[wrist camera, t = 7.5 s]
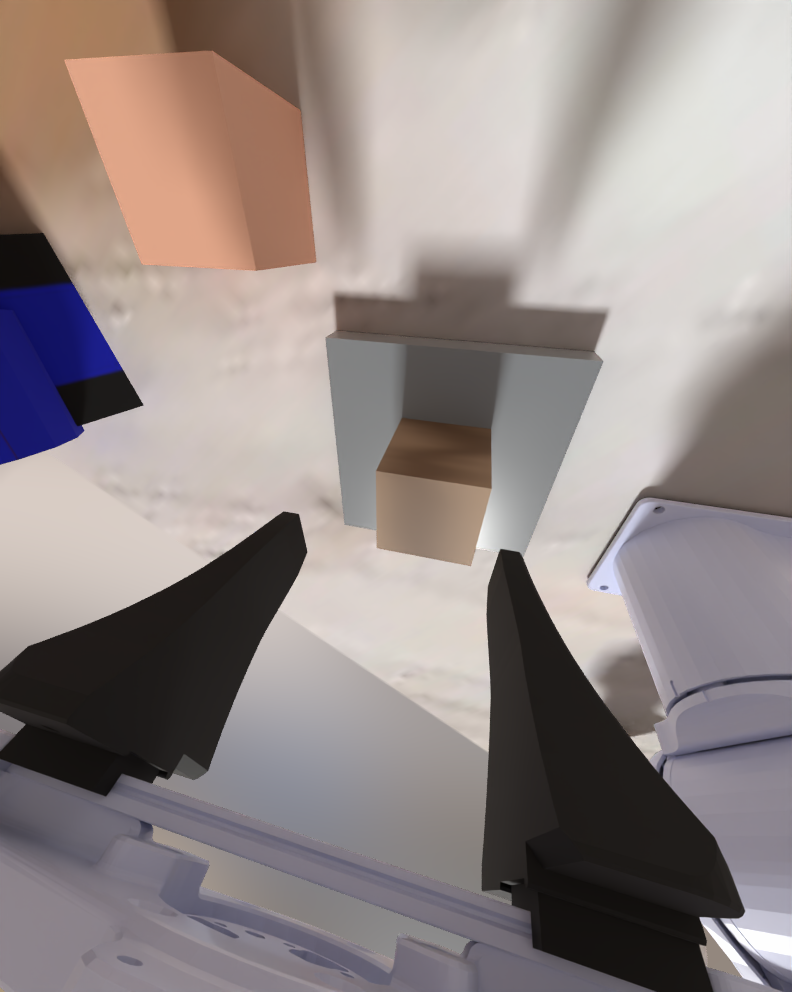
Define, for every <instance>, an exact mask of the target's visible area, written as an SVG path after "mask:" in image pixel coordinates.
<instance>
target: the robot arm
mask: <svg viewBox="0 0 792 992" xmlns="http://www.w3.org/2000/svg"><path fill="white" fill-rule="evenodd" d="M656 507H660V508H659V509H655V508H656ZM306 554H307V548H306V543H305V539H304V535H303V530H302V526H301V521H300V517H299V514H295V513H289V512H282V513H281V514H279V515H278V516H277V517H275V518H274V519H272V520H271V521H270V522H268V523H267V524H265V525H264V526H263V527H261V528H260V529H259V530H257V531H256V532H255V533H253V534H252V535H250V536H249V537H248V538H246V539H245V540H243V541H242V542H240V543H239V544H238V545H236V546H235V547H233V548H232V549H230V550H229V551H227V552H226V553H224V554H223V555H221V556H220V557H218V558H217V559H215V560H214V561H212V562H210V563H209V564H207V565H206V566H205V567H203V568H201V569H199V570H198V571H196V572H194V573H193V574H191V575H189V576H188V577H186V578H184V579H182V580H180V581H179V582H177V583H175V584H173V585H171V586H170V587H168V588H166V589H164V590H162V591H160V592H158V593H156V594H154V595H152V596H150V597H148V598H145V599H144V600H141V601H140V602H137V603H135V604H133V605H131V606H129V607H127V608H125V609H123V610H120V611H118V612H116V613H113V614H111V615H109V616H106V617H104V618H102V619H99V620H97V621H95V622H92V623H90V624H87V625H84V626H82V627H79V628H77V629H74V630H72V631H69V632H66V633H63V634H61V635H58V636H55V637H53V638H50V639H47V640H45V641H42V642H39V643H36V644H33V645H31V646H28V647H27V648H26V649H25V650H24V651H23V652H21V653H20V654H19V655H18V656H17V657H16V658H15V659H14V660H13V661H11V662H10V663H9V664H8V665H7V666H6V667H5V668H3V669H2V670H1V671H0V712H3V713H5V714H6V715H9V716H11V717H13V718H15V719H17V720H19V721H21V722H23V723H25V724H26V725H25V726H24V727H23V728H22V729H21V730H20V731H19V732H18V733H17V734H16V735H15V734H13V733H10V732H8V731H5V730H2V729H0V987H1V988H2V989H3V990H4V991H5V992H792V518H789V517H782V516H775V515H768V514H761V513H754V512H747V511H740V510H733V509H726V508H719V507H712V506H705V505H698V504H691V503H684V502H678V501H671V500H664V499H657V498H644V499H641V500H640V501H638V502H637V504H636V505H635V507H634V508H633V510H632V511H631V513H630V514H629V516H628V518H627V519H626V521H625V522H624V524H623V525H622V527H621V529H620V530H619V532H618V533H617V535H616V536H615V538H614V539H613V541H612V543H611V544H610V546H609V547H608V549H607V550H606V552H605V554H604V555H603V557H602V558H601V560H600V561H599V563H598V564H597V566H596V568H595V569H594V571H593V572H592V574H591V575H590V577H589V579H588V580H587V586H588V588H589V589H591V590H594V591H600V592H605V593H610V594H616V595H621V596H622V597H623V600H624V602H625V605H626V608H627V610H628V613H629V616H630V618H631V621H632V624H633V627H634V629H635V632H636V635H637V637H638V640H639V643H640V645H641V648H642V651H643V654H644V656H645V659H646V662H647V664H648V667H649V670H650V672H651V675H652V678H653V680H654V683H655V686H656V689H657V691H658V694H659V697H660V699H661V702H662V705H663V707H664V710H665V713H666V715H667V718H666V719H665V720H663V721H661V722H658V723H655V724H654V727H655V730H656V733H657V736H658V739H659V742H660V745H661V748H662V750H661V751H659V752H657V753H655V754H654V755H653V757H652V758H651V759H650V761H648V759H647V758H646V757H645V756H644V754H643V753H642V752H641V751H640V750H639V748H638V747H637V746H636V744H635V743H634V742H633V741H632V739H631V738H630V737H629V735H628V734H627V733H626V731H625V730H624V729H623V727H622V726H621V725H620V723H619V722H618V721H617V720H616V718H615V717H614V716H613V714H612V713H611V712H610V710H609V709H608V708H607V706H606V705H605V704H604V702H603V701H602V699H601V698H600V697H599V695H598V694H597V692H596V691H595V689H594V688H593V687H592V685H591V684H590V682H589V681H588V679H587V678H586V676H585V675H584V673H583V672H582V670H581V669H580V667H579V666H578V664H577V663H576V661H575V659H574V658H573V656H572V655H571V653H570V651H569V650H568V648H567V646H566V645H565V643H564V641H563V639H562V638H561V636H560V634H559V632H558V631H557V629H556V627H555V625H554V623H553V622H552V620H551V618H550V616H549V614H548V612H547V610H546V608H545V606H544V604H543V602H542V600H541V598H540V596H539V594H538V592H537V590H536V588H535V585H534V583H533V581H532V579H531V577H530V574H529V572H528V569H527V567H526V565H525V562H524V559H523V557H522V555H521V553H520V552H517V551H511V550H505V549H500V551H499V554H498V557H497V560H496V563H495V566H494V570H493V573H492V576H491V579H490V582H489V585H488V596H487V633H488V650H489V666H490V684H491V706H490V736H489V760H488V779H487V798H486V815H485V829H484V844H483V858H482V891H483V892H486V893H489V894H492V895H495V896H498V897H501V898H504V899H507V900H510V901H512V905H509V904H506V903H503V902H500V901H497V900H494V899H491V898H488V897H485V896H482V895H479V894H476V893H473V892H470V891H467V890H464V889H462V888H459V887H456V886H453V885H450V884H447V883H444V882H441V881H438V880H435V879H432V878H429V877H426V876H423V875H420V874H417V873H414V872H411V871H408V870H405V869H402V868H399V867H396V866H393V865H390V864H388V863H384V862H382V861H379V860H376V859H373V858H370V857H366V856H364V855H361V854H358V853H355V852H352V851H349V850H346V849H343V848H340V847H337V846H334V845H331V844H328V843H325V842H323V841H320V840H316V839H314V838H311V837H308V836H304V835H302V834H299V833H295V832H293V831H290V830H287V829H284V828H281V827H278V826H275V825H272V824H269V823H266V822H263V821H260V820H257V819H255V818H251V817H249V816H245V815H243V814H240V813H237V812H234V811H231V810H228V809H225V808H222V807H219V806H216V805H213V804H210V803H207V802H204V801H201V800H198V799H195V798H192V797H189V796H186V795H184V794H181V793H178V792H175V791H172V790H169V789H166V788H162V787H160V786H157V785H154V784H152V783H153V781H154V779H155V778H156V776H158V777H161V778H165V779H167V780H168V779H169V778H170V777H171V775H172V774H173V773H174V774H177V775H180V776H183V777H186V778H189V779H192V780H195V779H198V778H199V777H201V776H202V775H204V774H205V773H206V772H207V771H208V769H209V767H210V764H211V761H212V758H213V755H214V752H215V750H216V747H217V744H218V741H219V739H220V736H221V733H222V730H223V728H224V725H225V722H226V720H227V717H228V715H229V712H230V710H231V707H232V705H233V702H234V700H235V697H236V695H237V692H238V690H239V688H240V685H241V683H242V681H243V679H244V676H245V674H246V672H247V669H248V667H249V665H250V663H251V660H252V658H253V656H254V653H255V652H256V649H257V647H258V645H259V643H260V641H261V639H262V637H263V635H264V633H265V631H266V630H267V628H268V626H269V624H270V622H271V621H272V619H273V617H274V615H275V614H276V612H277V611H278V609H279V607H280V605H281V604H282V602H283V600H284V599H285V597H286V595H287V593H288V592H289V590H290V588H291V586H292V585H293V583H294V581H295V579H296V578H297V576H298V573H299V571H300V569H301V566H302V564H303V562H304V559H305V557H306ZM151 824H152V825H155V826H157V827H160V828H163V829H166V830H168V831H171V832H174V833H177V834H179V835H182V836H185V837H188V838H190V839H193V840H196V841H199V842H202V843H204V844H207V845H210V846H213V847H215V848H218V849H221V850H224V851H227V852H229V853H232V854H235V855H237V856H240V857H243V858H246V859H249V860H251V861H254V862H257V863H260V864H263V865H265V866H268V867H271V868H273V869H276V870H279V871H282V872H285V873H287V874H290V875H293V876H296V877H298V878H301V879H304V880H307V881H309V882H312V883H315V884H318V885H321V886H323V887H326V888H329V889H332V890H334V891H337V892H340V893H343V894H345V895H348V896H351V897H354V898H357V899H359V900H362V901H365V902H368V903H370V904H373V905H376V906H379V907H382V908H384V909H387V910H390V911H393V912H396V913H398V914H401V915H404V916H406V917H409V918H412V919H415V920H417V921H420V922H423V923H426V924H429V925H432V926H434V927H437V928H440V929H443V930H445V931H448V932H451V933H454V934H456V935H459V936H462V937H465V938H467V939H470V940H473V941H470V942H469V943H467V944H466V946H465V948H464V951H463V952H462V953H461V954H458V953H456V952H454V951H452V950H450V949H448V948H445V947H442V946H440V945H437V944H434V943H431V942H428V941H425V940H422V939H419V938H416V937H413V936H410V935H407V934H404V933H400V934H399V935H398V936H397V944H396V951H395V959H394V960H393V959H391V958H388V957H386V956H384V955H381V954H379V953H377V952H374V951H372V950H370V949H367V948H365V947H362V946H360V945H358V944H356V943H353V942H351V941H348V940H346V939H344V938H341V937H339V936H337V935H334V934H332V933H329V932H327V931H324V930H321V929H319V928H317V927H314V926H311V925H309V924H306V923H304V922H301V921H298V920H296V919H293V918H290V917H288V916H285V915H282V914H279V913H277V912H273V911H271V910H268V909H265V908H262V907H260V906H257V905H254V904H251V903H248V902H245V901H242V900H239V899H236V898H233V897H230V896H227V895H225V894H222V893H219V892H216V891H213V890H210V889H207V888H204V887H201V883H202V881H203V879H204V877H205V874H206V872H207V870H208V868H209V861H208V860H205V859H203V858H201V857H198V856H196V855H194V854H191V853H189V852H186V851H183V850H180V849H177V848H174V847H171V846H168V845H164V844H161V843H157V842H154V841H153V839H152V835H153V827H152V825H151ZM701 923H702V924H703V925H704V927H705V928H706V929H707V930H708V932H709V933H710V934H711V936H712V937H713V938H714V939H715V941H716V942H717V943H718V945H719V946H720V947H721V948H722V950H723V951H724V952H725V953H726V955H727V956H728V957H729V958H730V960H731V961H732V963H733V964H734V966H735V967H736V968H737V970H738V971H739V973H740V974H741V976H742V977H743V978H741V977H738V976H735V975H732V974H729V973H726V972H722V971H719V970H716V969H712V968H708V967H706V966H705V962H704V959H703V956H702V952H701V949H700V946H699V945H703V946H706V943H707V940H706V937H705V934H704V930H703V927H702V924H701Z"/></svg>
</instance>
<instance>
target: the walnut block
mask: <svg viewBox="0 0 792 992" xmlns="http://www.w3.org/2000/svg"><path fill="white" fill-rule="evenodd" d="M491 490H492V463H491V429H487V428H479V427H471V426H463V425H455V424H447V423H439V422H431V421H423V420H415V419H407V418H402V419H401V421H400V423H399V425H398V427H397V429H396V431H395V433H394V435H393V437H392V439H391V441H390V443H389V445H388V447H387V449H386V451H385V453H384V455H383V457H382V459H381V461H380V464H379V466H378V468H377V470H376V524H377V548H379V549H384V550H390V551H395V552H400V553H405V554H411V555H416V556H421V557H426V558H431V559H437V560H442V561H447V562H452V563H457V564H463V565H468V566H471V564H472V560H473V556H474V553H475V549H476V545H477V542H478V538H479V534H480V530H481V527H482V523H483V519H484V516H485V512H486V508H487V504H488V501H489V497H490V493H491Z"/></svg>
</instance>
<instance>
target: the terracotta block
mask: <svg viewBox="0 0 792 992" xmlns="http://www.w3.org/2000/svg"><path fill="white" fill-rule="evenodd" d="M64 61H65V63H66V66H67V69H68V71H69V74H70V77H71V79H72V82H73V84H74V87H75V90H76V92H77V95H78V98H79V100H80V103H81V105H82V108H83V111H84V113H85V116H86V119H87V121H88V124H89V127H90V129H91V132H92V134H93V137H94V140H95V142H96V145H97V148H98V150H99V153H100V155H101V158H102V161H103V163H104V166H105V169H106V171H107V174H108V177H109V179H110V182H111V184H112V187H113V190H114V192H115V195H116V198H117V200H118V203H119V205H120V208H121V211H122V213H123V216H124V219H125V221H126V224H127V227H128V229H129V232H130V234H131V237H132V240H133V242H134V245H135V248H136V250H137V253H138V255H139V258H140V261H141V263H142V264H144V265H163V266H181V267H199V268H218V269H236V270H254V271H257V270H264V269H271V268H279V267H286V266H293V265H300V264H307V263H314V262H316V254H315V245H314V235H313V225H312V216H311V206H310V197H309V187H308V177H307V168H306V158H305V148H304V139H303V129H302V120H301V110H299V109H298V108H296V107H295V106H293V105H292V104H290V103H289V102H288V101H286V100H285V99H283V98H282V97H280V96H279V95H277V94H276V93H274V92H273V91H271V90H270V89H268V88H267V87H265V86H264V85H262V84H261V83H259V82H258V81H256V80H255V79H254V78H252V77H251V76H249V75H248V74H246V73H245V72H243V71H242V70H240V69H239V68H237V67H236V66H234V65H233V64H231V63H230V62H228V61H227V60H225V59H224V58H222V57H221V56H220V55H218V54H217V53H215V52H214V51H212V50H210V51H195V52H179V53H163V54H147V55H132V56H116V57H100V58H85V59H69V60H64Z"/></svg>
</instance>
